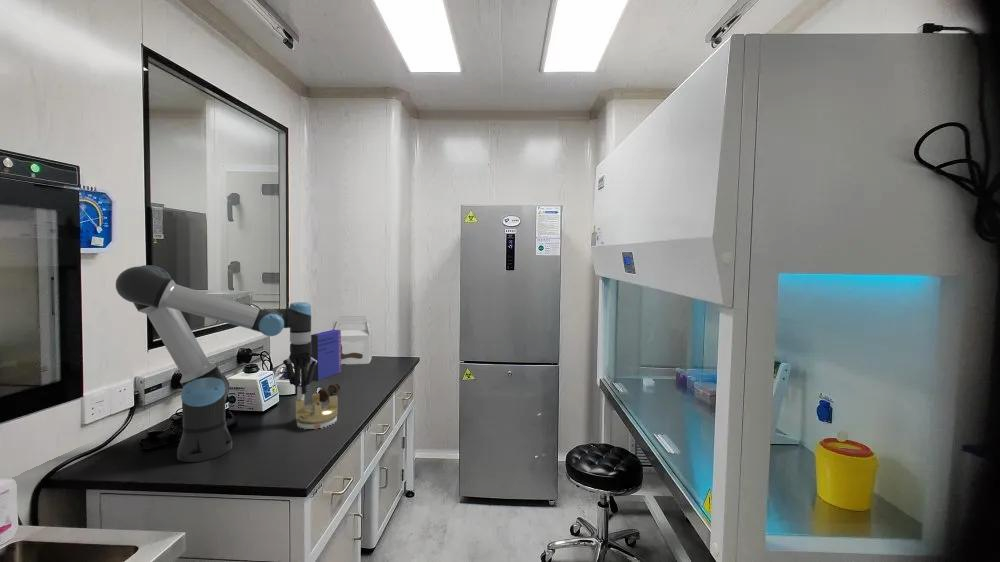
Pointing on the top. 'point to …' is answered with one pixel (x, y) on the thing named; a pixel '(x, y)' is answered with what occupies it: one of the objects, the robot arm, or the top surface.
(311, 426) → the mounting flange
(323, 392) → the bolt
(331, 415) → the ring nut
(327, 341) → the cereal box
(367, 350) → the gable box
